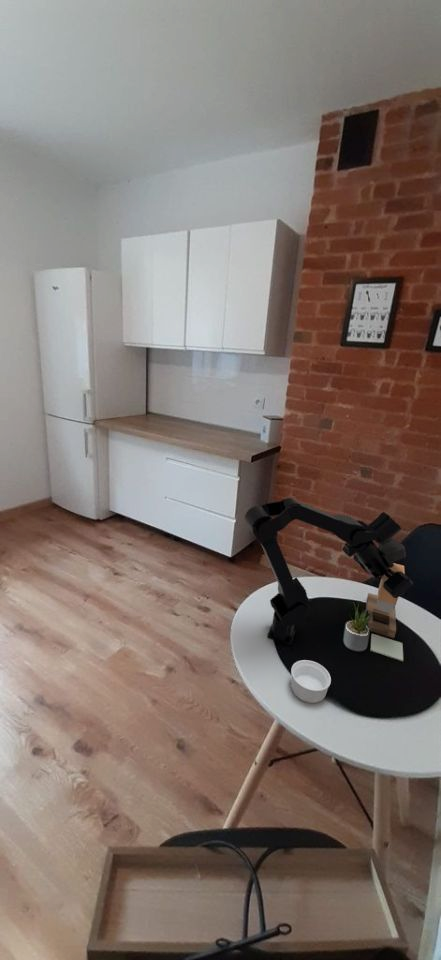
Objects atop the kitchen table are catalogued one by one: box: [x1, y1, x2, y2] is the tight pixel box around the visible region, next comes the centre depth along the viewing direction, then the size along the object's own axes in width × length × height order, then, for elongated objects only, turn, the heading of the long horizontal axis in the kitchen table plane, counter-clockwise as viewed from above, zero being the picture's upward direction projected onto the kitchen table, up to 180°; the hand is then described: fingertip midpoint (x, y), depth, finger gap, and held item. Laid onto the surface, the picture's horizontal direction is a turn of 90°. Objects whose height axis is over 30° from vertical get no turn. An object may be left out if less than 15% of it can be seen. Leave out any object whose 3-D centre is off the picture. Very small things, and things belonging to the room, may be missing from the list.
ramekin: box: [290, 659, 332, 704], centre depth 89 cm, size 9×9×4 cm
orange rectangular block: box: [377, 562, 406, 613], centre depth 110 cm, size 5×5×13 cm
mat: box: [370, 633, 404, 662], centre depth 105 cm, size 7×8×1 cm
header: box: [365, 592, 397, 639], centre depth 117 cm, size 16×8×2 cm, turn 158°
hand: (393, 586), depth 110 cm, fingers closed on orange rectangular block, 7 cm apart
